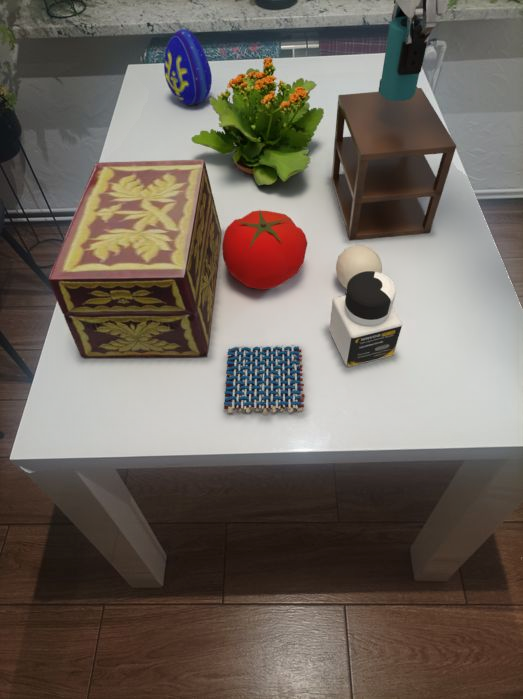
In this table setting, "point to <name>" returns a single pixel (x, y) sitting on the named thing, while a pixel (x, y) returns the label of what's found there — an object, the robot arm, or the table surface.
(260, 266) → the tomato
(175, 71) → the ornament
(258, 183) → the potted flower
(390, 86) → the teal cylinder
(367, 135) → the rack
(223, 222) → the table surface
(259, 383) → the woven mat
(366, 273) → the medicine bottle
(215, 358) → the table surface
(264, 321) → the table surface
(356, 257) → the cream round ball
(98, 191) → the decorative box
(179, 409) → the table surface
